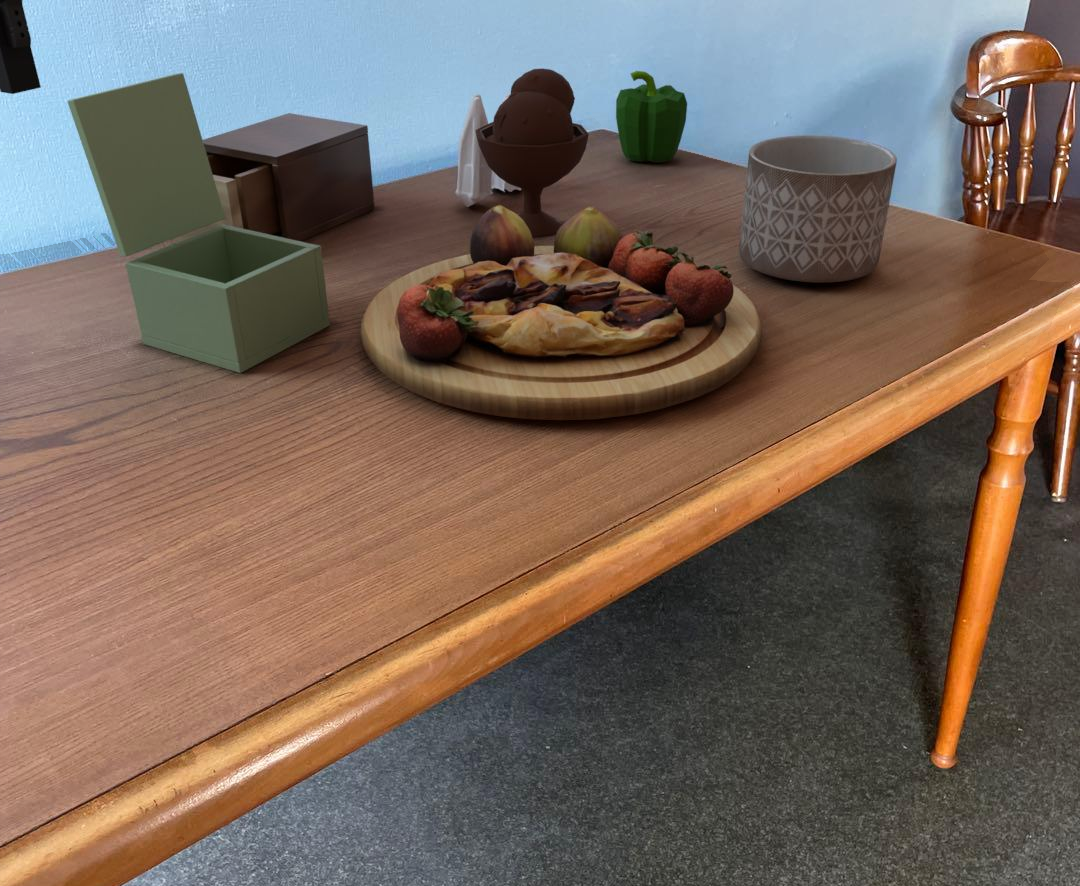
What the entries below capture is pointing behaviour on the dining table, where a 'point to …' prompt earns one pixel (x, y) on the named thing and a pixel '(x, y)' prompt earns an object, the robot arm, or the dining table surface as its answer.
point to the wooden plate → (561, 324)
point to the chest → (229, 296)
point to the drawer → (243, 195)
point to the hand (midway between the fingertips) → (20, 89)
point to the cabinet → (307, 168)
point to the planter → (815, 207)
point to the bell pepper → (650, 120)
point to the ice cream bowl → (534, 141)
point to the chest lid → (147, 161)
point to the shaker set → (475, 159)
